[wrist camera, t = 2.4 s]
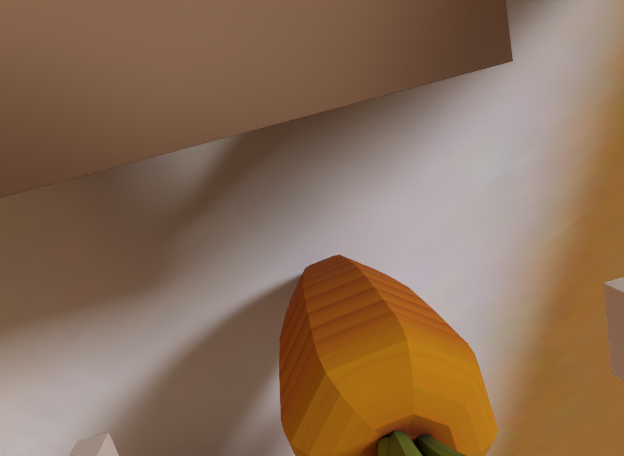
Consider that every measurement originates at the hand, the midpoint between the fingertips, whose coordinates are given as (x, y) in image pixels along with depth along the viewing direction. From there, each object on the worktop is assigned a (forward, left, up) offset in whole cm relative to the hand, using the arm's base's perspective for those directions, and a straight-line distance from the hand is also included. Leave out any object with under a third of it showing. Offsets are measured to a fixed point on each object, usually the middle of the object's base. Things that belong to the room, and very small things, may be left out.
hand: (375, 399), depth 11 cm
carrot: (0, 0, -9) cm, 9 cm away
